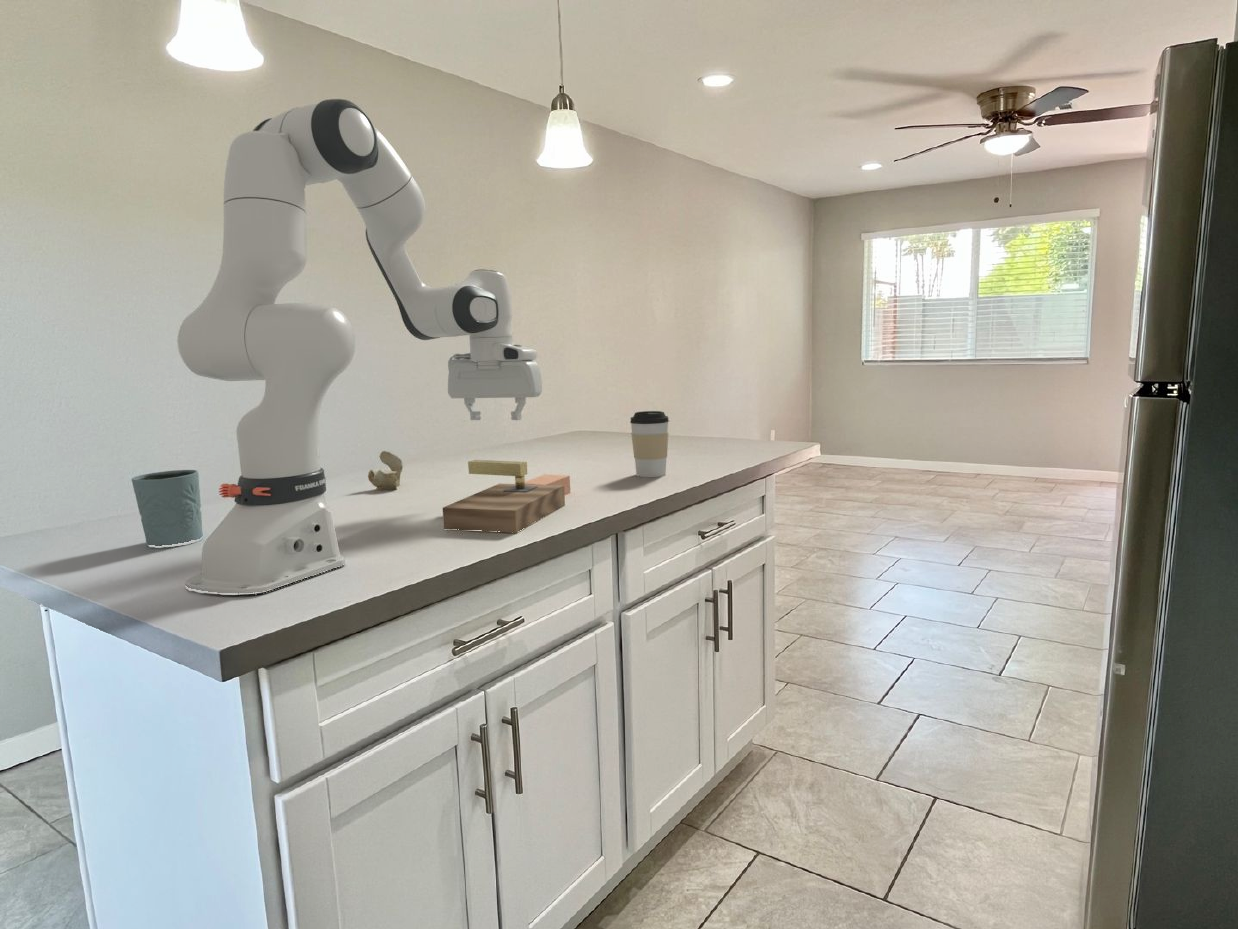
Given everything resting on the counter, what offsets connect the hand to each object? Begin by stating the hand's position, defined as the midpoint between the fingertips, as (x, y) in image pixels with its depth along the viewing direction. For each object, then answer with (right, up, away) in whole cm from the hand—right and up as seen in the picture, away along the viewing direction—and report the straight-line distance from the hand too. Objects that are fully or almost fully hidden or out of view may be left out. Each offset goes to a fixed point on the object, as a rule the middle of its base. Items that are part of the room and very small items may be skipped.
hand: (495, 420), depth 162 cm
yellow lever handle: (+2, -13, -9) cm, 16 cm away
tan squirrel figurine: (-27, -15, +16) cm, 35 cm away
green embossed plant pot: (-52, -23, -25) cm, 62 cm away
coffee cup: (+33, -12, +22) cm, 41 cm away
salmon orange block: (+10, -16, +1) cm, 19 cm away
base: (+5, -19, -16) cm, 25 cm away
